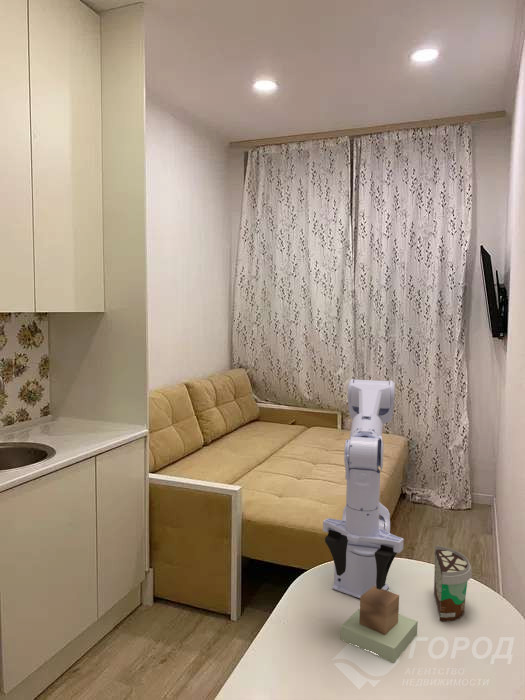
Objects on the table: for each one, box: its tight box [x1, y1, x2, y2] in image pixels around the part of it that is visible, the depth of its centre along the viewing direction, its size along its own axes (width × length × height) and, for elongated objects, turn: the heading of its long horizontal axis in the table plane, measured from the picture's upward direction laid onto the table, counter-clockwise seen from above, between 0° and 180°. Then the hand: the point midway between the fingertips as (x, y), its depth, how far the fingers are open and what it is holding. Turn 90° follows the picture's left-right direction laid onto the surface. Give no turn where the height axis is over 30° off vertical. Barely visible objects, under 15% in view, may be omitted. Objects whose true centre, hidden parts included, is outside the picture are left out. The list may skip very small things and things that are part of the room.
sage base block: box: [340, 608, 418, 664], centre depth 94 cm, size 10×10×3 cm
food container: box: [433, 545, 473, 622], centre depth 103 cm, size 12×6×10 cm, turn 168°
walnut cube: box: [359, 586, 400, 635], centre depth 94 cm, size 5×5×5 cm
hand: (360, 579), depth 94 cm, fingers open, 7 cm apart
